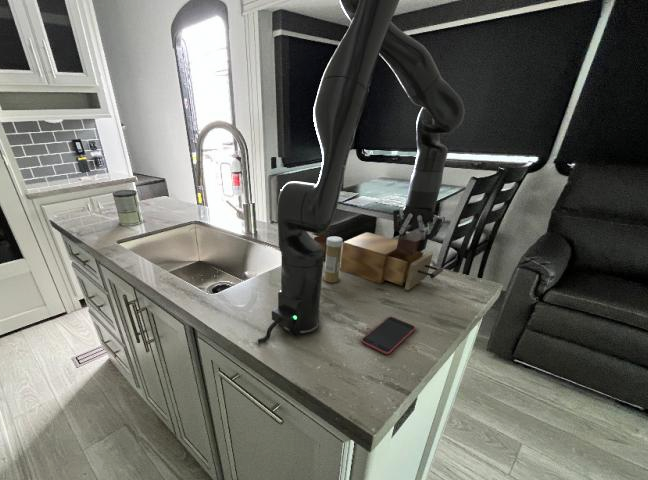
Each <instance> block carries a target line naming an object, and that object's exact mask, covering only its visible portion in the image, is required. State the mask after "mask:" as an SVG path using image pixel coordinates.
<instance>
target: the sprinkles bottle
mask: <svg viewBox="0 0 648 480" xmlns="http://www.w3.org/2000/svg"><path fill="white" fill-rule="evenodd" d="M343 240H344V239H343V238H342V237H340V236H330V237H328V238H327V251H326V259H325V261H324V262H325V264H324V276H323V280H324V281H325V282H327V283H336V282H339V275H340V269H341V256H342V248H343V242H344V241H343Z"/></svg>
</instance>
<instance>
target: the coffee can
mask: <svg viewBox="0 0 648 480" xmlns="http://www.w3.org/2000/svg"><path fill="white" fill-rule="evenodd" d="M112 196H113V200H114V204H115V208H116V212H117V215H118V220H119V224H120V225H121V226H125V227H129V226H131V227H132V226H136V225H140V224H142V223H143V222H144V220H143V215H142V212H141V207H140V202H139V198H138V192H137V190H134V189H124V190H117V191H113V192H112Z"/></svg>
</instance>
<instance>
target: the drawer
mask: <svg viewBox="0 0 648 480" xmlns="http://www.w3.org/2000/svg"><path fill="white" fill-rule="evenodd" d="M433 255H434V253H433V252H431V251H429V252H427V253H425V254H424V251H421V252H418V253H416V254H415V255H413V256H412V255H408V254H405V253H401V252H398V251H395V252H393V253H391V254H390V255H388V256H386V261H385V267H384V272H383V277H382V279H385V281H387V282H391V283H393V284H396V285H398V286H403V285H405V286H404V289H405V290H407V291H409V290H411V289H413V288H414V287H415V286H416V285H418V284H419V283H420V282H421V281H424V280H425V279H426V278H427V277H429V278H430V279H435V278H436V277H437V276H439V275H440V274H441V273H442V272H444V268H443V267H436V266H434V265H433V266H432V265H431V263H432V259H433ZM429 270H433V271H432V272H429Z"/></svg>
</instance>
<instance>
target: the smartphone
mask: <svg viewBox="0 0 648 480" xmlns="http://www.w3.org/2000/svg"><path fill="white" fill-rule="evenodd" d="M415 330H416V326H415V325H412V324H410V323H408V322H405V321H403V320H400V319H398V318H396V317H394V316H388V317H387V318H386V319H384V320H383V321H382V322H381V323H379V324H378V325H377V326H376V327H374V328H373V329H372V330H371V331H370V332H368V333H367V334H365V336H363V337H362V338H361V343H362V344H364V346H365V345H366V346H367V347H369V348H371V349H374V350H375V351H377V352H380V353H382V354H384V355H390V354H391V353H392V352H394V350H395V349H397V347H399V346H400V344H402V343H403V342H404V341H405V340H406V339H407V338H408V337H409V336H410V335H411V334H412V333H414V332H415Z"/></svg>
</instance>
